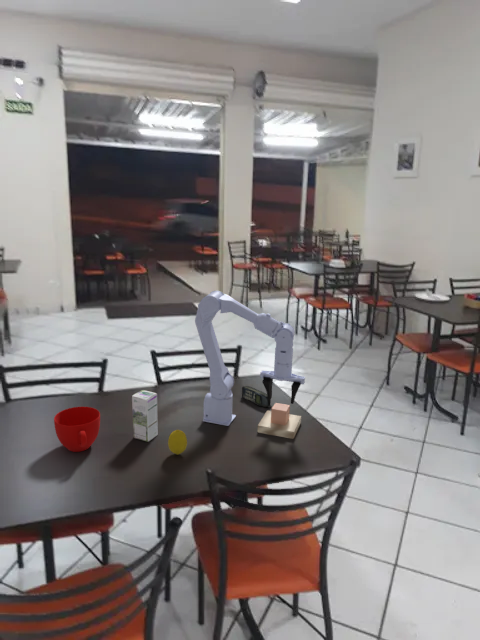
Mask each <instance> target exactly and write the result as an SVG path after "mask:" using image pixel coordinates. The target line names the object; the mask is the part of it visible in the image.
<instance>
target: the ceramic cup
mask: <svg viewBox="0 0 480 640" xmlns="http://www.w3.org/2000/svg"><path fill="white" fill-rule="evenodd" d="M53 424H54V430H55V435H56V437H57V439H58V441H59V442H60V443H61V445H62V446H63V447H65V448H66V449H67V450H68V451H69V452H72V453H79V452H83V451H86V450H88V449H89V448H91V446H92V445H93V444H94V443H95V441H96V440H97V438H98V435H99V431H100V427H101V412H100V411H99V410H98V409H97V408H94V407H91V406H74V407H69V408H66V409H63V410H61V411H59V412H57V413H56V414H55V415H54V418H53Z"/></svg>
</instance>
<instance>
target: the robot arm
mask: <svg viewBox="0 0 480 640" xmlns="http://www.w3.org/2000/svg"><path fill="white" fill-rule="evenodd" d="M218 312H219V313H220V314H227V313H232V314H234V315H237V316H239V318H242V319H244V320H247V321H249V322H250V323H252V324H253V326H254V329H256V330H257V331H259V332H261V333H262V334H265V335H266V336H268V337H270V338H271V339H274V341H275V348H274V363H273V364H274V367H273V369H274V370H261V371H260V375H259V378H260V379H262V385H263V386H264V388H265V392H266V394H267V396H268V400H270V399H271V400H272V398H273V397H272V396H273V381H274V380H276V381H279V382H283V381H284V382H289V383H292V384H291V386H290V387H291V396H290V397H291V398H290V404H291V405H293V404H294V402H295V399H296V395H297V393H298V390H300V387H301V385H305V382H306V376H302V375H298V374H295V373H292V372H293V355H294V348H293V347H294V338H295V334H296V332H295V328H294V326H292V325H291V324H290V323H288V322H287V323H286V322H284V321H282V320H280V321H279V320H278V319H275V318H274V317H272V316H271V315H272V314H271V313H268V312H267V313H265V312H261V313H257V312H256V311H254V310H252V309H251V308H249V307H248V306H246V305H244V304H242V303H241V302H239V301H238V300H236V299H235V298H233V297H232V296H230V295H229V294H226V293H224V292H223V291H220V290H212V291H210V293H208V294H207V295H206V296H204V297H202V299H201V300H200V302H199V303H198V304H197V310H196V315H195V319H194V323H195V326H196V330H197V333H198V336H199V339H200V340H199V341H200V343H201V346H202V348H203V352H204V356H205V359H206V361H207V362H206V363H207V365H208V366H207V367H208V369H209V371H210V372H209V382H210V383H209V384H210V388H209V392H207V393H205V396H204V399H203V419H202V422H206V423H211V424H216V425H220V426H226V427H229V426H230V425H231V424H232V422H233V421H234V420H235V418H236V416H237V415H236V414H233V402H234V401H233V399H234V397H233V396H234V395H233V390H232V388H233V387H234V384H235V378H234V376H233V375H232V374H231V373H230V370H229V368H228V367H227V366H226V365H225V362H224V359H223V356H222V352H221V349H220V345H219V342H218V339H217V335H216V333H215V329H214V325H213V320H214V319H215V317H216V315H217V313H218Z"/></svg>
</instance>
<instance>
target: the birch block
mask: <svg viewBox="0 0 480 640" xmlns="http://www.w3.org/2000/svg"><path fill="white" fill-rule="evenodd" d="M301 423H302V415H297V414H291V413H289V420H288V422H287V424H286V425H281V424H275V423H271V410H269V409H268V410H266V412H265V413H264V415H263V417H262V418H261V420H259V423H258V424H257V433H259V434H265V435H269V436H275V437H276V436H277V437H282V438H287V439H290V440H294V439H295V437H296V434H297V433H298V431H299V428H300V426H301Z"/></svg>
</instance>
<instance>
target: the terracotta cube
mask: <svg viewBox="0 0 480 640" xmlns="http://www.w3.org/2000/svg"><path fill="white" fill-rule="evenodd" d="M270 409H271V410H270V411H271V423H275V424H281V425H286V424H287V422H288V420H289V414H291V413H290V409H291V405H290V404H285V403H279V402H278V403H277V402H274V404H273V406H272V408H270Z"/></svg>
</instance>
